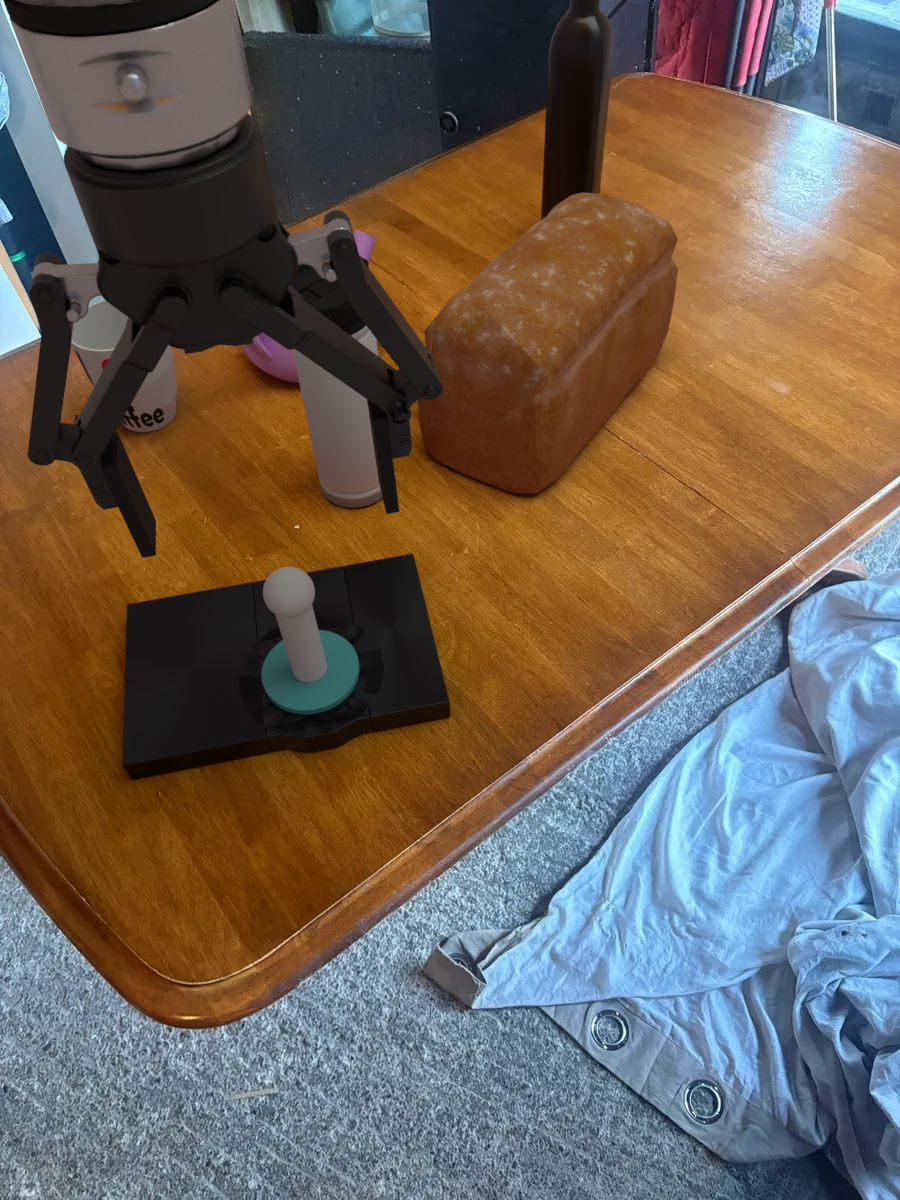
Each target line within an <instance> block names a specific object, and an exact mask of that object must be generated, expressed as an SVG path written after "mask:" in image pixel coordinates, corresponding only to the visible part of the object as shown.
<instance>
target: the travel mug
mask: <svg viewBox="0 0 900 1200" xmlns="http://www.w3.org/2000/svg"><path fill="white" fill-rule="evenodd" d="M360 257H361V256H360ZM361 258H362V259H363V261H364V262H365V264H366V265H367V266H368V268H369V264H368V261H367V260H366V259H364V258H363V257H361ZM369 269H370V268H369ZM290 286H292V287H293V288H294V289H296V290H297V291H298V292H299V293H300V294H301V296H302V297H303V299H304V300H305V301H306V302H307V303H308V304H309V305H310V306H312V307H313V308H314V309H316V310H317V311H318V312H320V313H321V314H322V315H324V316H325V317H326V318H328V319H329V320H330V321H332V322H333V323H334V324H336V325H337V326H338V327H340V328H341V329H342V330H344V331H345V332H346V333H348V334H349V335H350V336H352V337H353V338H354V339H356V340H357V341H358V342H360V343H361V344H362V345H364V346H365V347H366V348H368V349H369V350H370V351H372V352H373V353H374V354H376V355H377V356H378V357H379V352H378V351H379V350H378V343H377V341H376V338H375V336H374V335H373V334H372V332H371V331H370V330H369V329H368V327H367V326H366V325H365V323H364V322H363V321H362V319H361V318H360V317H359V316H358V314H357V313H356V312H355V310H354V309H353V308H352V307H351V305H350V304H349V302H348V301H347V299H346V298H345V296H344V294H343V293H342V291H341V289H340V286H339V283H338V280H336V281H334V282H328V281H327V280H325V279H323V278H321V277H320V276H319V275H318V274H317V272H316V271H315V269H314V268H313V267H311V266H309V265H305V264H302V265H298V268H297V272H296V274H295V276H294V278H293V280H292V282H291V284H290ZM293 354H294V359H295V364H296V369H297V374H298V379H299V383H298V384H299V388H300V393H301V398H302V403H303V408H304V413H305V417H306V422H307V423H306V424H307V427H308V433H309V438H310V442H311V448H312V452H313V457H314V462H315V468H316V473H317V476H318V483H319V487H320V490H321V493H322V494H323V496H324V497H325V498H326V499H327V501H329V502H331V503H333V504H334V505H337V506H339V507H344V508H351V509H353V508H354V509H355V508H362V507H368V506H370V505H372V504H374V503H377V502H379V501H380V500H381V499H383V497H382V493H381V489H380V484H379V479H378V472H377V465H376V458H375V451H374V445H373V438H372V431H371V424H370V417H369V410H368V403H367V399H366V398H365V397H363V396H362V395H360V394H359V393H357V392H356V391H354V390H353V389H352V388H350V387H349V386H347V385H346V384H344V383H343V382H342V381H340V380H339V379H337V378H336V377H334V376H333V375H332V374H330V373H329V372H327V371H326V370H324V369H323V368H321V367H320V366H319V365H317V364H316V363H314V362H313V361H311V360H310V359H309V358H307V357H306V356H304V355H303V354H301V353H300V352H298V351H297V350H295V349H293Z"/></svg>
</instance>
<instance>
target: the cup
mask: <svg viewBox="0 0 900 1200" xmlns="http://www.w3.org/2000/svg"><path fill="white" fill-rule="evenodd" d="M127 320H128V317H127V316H126V315H124V314H123V313H122V312H120V311H119V310H118V309H116V308H115V307H113V306H112V305H111V304H109V303H108V302H107V301H106V300H105V299H103V300H100V301H99V300H98V301H97V302H94V303H92V304H89V308H88V313H87V315H86V316H85V317H83V318H81V319H79V320H78V321H77V322H73V332H72V341H71V347H72V348H73V351H74V352H75V354H76V357H77V358H78V360H79V362H80V365H81V366H82V368H83V370H84V373H85V374H86V376H87V378H88V379H89V381H90V383H91V384H92V386H93V388H94V387H95V385H96V383H97V381H98V379H99V377H100V375H101V374H102V372H103V370H104V368H105V366H106V364H107V362H108V360H109V358H110V357H111V355H112V353H113V351H114V349H115V347H116V345H117V343H118V341H119V340H120V338H121V336H122V334H123V332H124V329H125V326H126V323H127ZM177 398H178V385H177V375H176V368H175V362H174V353H173V350H172V347H171V346H169V345H168V346H167V348H166V350H165V352H164V353H163V355H162V357H161V359H160V360H159V362H158V364H157V366H156V367H155V369H154V370H153V372H152V373H151V372H149V373H148V375H147V377H146V378H145V380H144V382H143V384H142V385H141V387H140V389H139V391H138V392H137V394H136V396H135V398H134V399H133V401H132V403H131V405H130V407H129V408H128V410H127V412H126V414H125V415H124V417H123V419H122V421H121V422H120V423H121V424H122V425H123V426H124V427H125V428H126V429H127V430H129V431H132V432H135V433H149V432H154V431H157V430H160V429H163V428H164V427H166V426H167V425H169V424H170V423H172V421H173V420H174V418H175V417H176V414H177V400H178V399H177Z"/></svg>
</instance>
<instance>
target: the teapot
mask: <svg viewBox="0 0 900 1200" xmlns="http://www.w3.org/2000/svg"><path fill="white" fill-rule="evenodd" d="M353 234H354V238H355V241H356V245H357V249H358V252H359V255H360V256H361V257H363V258H364V259H366V260H367V261H368V265H369V264H370V261H371V258H372V255H373V251H374V248H375V246H376V242H377V238H378V237H376V236H374V235H372V234H369V233H367V232H363V231H361V230H359V229H355V231H354V232H353ZM376 341H377V344H378V343H379V341H378V340H377V339H376ZM241 346H242V350H243V351H244V354H245V355H246V356H247V358H248V359H249V360H250V362H251V363H252V364H254V365H255V367H258V368H259V369H261V370H262V371H264V372H265V373H267V374H268V375H271V376H272V377H274V378H277V379H279V380H282V381H285V382H289V383H294V384H299V379H298V374H297V369H296V364H295V359H294V354H293V349H292V350H288V349H286V348H285V347H283V346H282V345H280V344H279V343H277V342H276V341H275V340H273V339H272V338H270V337H269V336H267V335H266V334H264V333H263V332H262V333H261V334H260V335H258V336H257V337H254V338H253V343H252V344H246V345H241Z"/></svg>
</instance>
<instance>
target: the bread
mask: <svg viewBox="0 0 900 1200" xmlns="http://www.w3.org/2000/svg"><path fill="white" fill-rule="evenodd" d="M678 240H679V239H678V237H677V235H676V233H675V230H674V228H673V227H672V224H671V222H670V221H667V220H666V219H664V218H662V217H661V216H659V215H658V214H656V213H654V212H653V211H651V210H649V209H648V208H646V207H644V206H642V205H641V204H639V203H637V202H634V201H629V200H626V199H623V198H619V197H616V196H613V195H608V194H605V193H600V194H595V193H578V194H575V195H571V196H569V197H568V198H566V199H565V200H563V201H562V202H560V203H559V204H557V205H556V206H554V207H553V209H552V210H551V211H550V212H549V214H548V215H547V216H546V217H545V218H543V219H542V220H541V219H540V220H538V221H537V222H536V223H534V224H533V225H532V226H531V227H530V228H528V229H527V230H526V231H525V232H524V233H523V234H522V235H521V236H519V237H518V238H517V239H516V240H514V241H513V243H511V244H510V245H509V246H508V247H507V248H505V249H504V250H503V251H502V252H501V253H499V254H498V255H497V256H496V257H494V259H492V260H491V261H490V262H489V263H487V264H486V266H484V268H482V270H481V271H480V272H479V273H478V274H477V275H476V277H475V278H474V279H473V280H472V281H471V282H470V283H469V284H468V285H466V286H465V287H463V288H462V289H460V291H458V292H456V293H455V294H453V295H452V296H451V297H450V298H449V299H448V301H447V302H446V303H445V304H444V305H443V307H442V308H441V309H440V310H439V312H438V313H437V315H436V316H435V317H434V318H433V319H432V321H430V323H429V324H428V325H427V327H426V328H425V330H424V342H425V343H424V345H425V347H426V348H427V350H428V351H429V352H430V354H431V355H432V357H433V359H434V362H435V365H436V368H437V371H438V374H439V377H440V380H441V384H442V387H443V392H442V393H441V395H440V396H439V397H438V398H436V399H434V400H426V399H423V398H422V399H420V400H418V401H417V408H418V421H419V428H420V432H421V436H422V437H421V438H422V441H423V446H424V449H425V450H426V451H427V452H428V453H429V454H430V455H431V456H432V457H433V459H434V460H435V461H436V462H438V463H440V464H443V465H444V466H446V467H448V468H451V469H453V470H455V471H457V472H459V473H460V474H463V475H466V476H468V477H470V478H473V479H474V480H477V481H480V482H481V483H485V484H487V485H489V486H493V487H496V488H499V489H501V490H504V491H507V492H510V493H513V494H531V495H532V494H538V493H540V492H541V491H542V490H544V489H545V488H546V487H548V486H549V485H550V484H552V483H553V482H554V481H556V480H557V479H558V478H560V477H561V476H562V475H563V473H564V472H565V471H566V469H567V468H568V467H569V466H570V464H571V463H572V462H573V461H574V459H576V457H577V456H578V454H579V453H580V452H581V451H582V450H583V449H584V448H585V447H586V445H587V444H588V443H589V442H590V440H591V439H592V438H593V437H594V436H595V434H596V433H597V432H598V431H599V430H600V429H601V427H602V426H603V425H604V424H605V423H606V422H607V420H608V419H609V418H610V417H611V416H612V414H614V412H615V410H616V409H617V408H618V407H619V405H620V404H621V403H622V401H623V400H624V399H625V398H626V397H627V395H628V394H629V393H630V392H631V391H632V389H633V388H634V387H635V386H636V385H637V384H638V383H639V382H640V380H641V379H642V378H643V377H644V376H645V374H646V373H647V372H648V371H649V370H650V368H651V367H652V366H653V364H654V363H655V362H656V361H657V360H656V359H657V358H658V356H659V353H660V352H661V350H662V348H663V345H664V343H665V340H666V338H667V335H668V332H669V328H670V324H671V319H672V314H673V309H674V303H675V296H676V287H677V280H678V279H677V278H678V271H679V268H678V266H677V265H676V262H675V261H674V260H673V258H672V257H673V254H674V251H675V248H676V245H677V244H678V243H677V242H678Z"/></svg>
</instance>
